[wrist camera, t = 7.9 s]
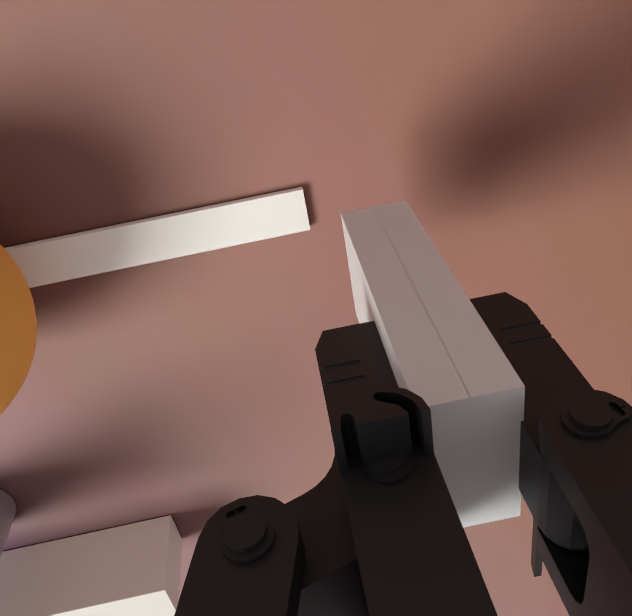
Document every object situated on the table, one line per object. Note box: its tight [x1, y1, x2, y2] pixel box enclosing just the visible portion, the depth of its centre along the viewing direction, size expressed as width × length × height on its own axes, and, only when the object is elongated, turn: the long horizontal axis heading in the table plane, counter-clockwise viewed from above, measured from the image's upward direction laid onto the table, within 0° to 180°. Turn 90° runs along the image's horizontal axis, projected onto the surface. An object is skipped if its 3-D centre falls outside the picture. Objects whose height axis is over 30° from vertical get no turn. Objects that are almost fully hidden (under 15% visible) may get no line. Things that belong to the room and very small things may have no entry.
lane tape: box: [4, 187, 310, 288], centre depth 16 cm, size 10×1×1 cm, turn 99°
